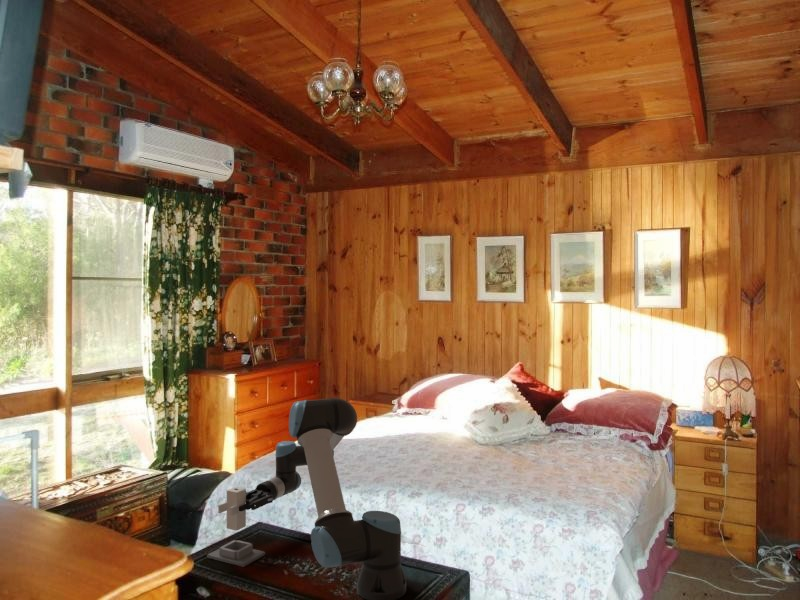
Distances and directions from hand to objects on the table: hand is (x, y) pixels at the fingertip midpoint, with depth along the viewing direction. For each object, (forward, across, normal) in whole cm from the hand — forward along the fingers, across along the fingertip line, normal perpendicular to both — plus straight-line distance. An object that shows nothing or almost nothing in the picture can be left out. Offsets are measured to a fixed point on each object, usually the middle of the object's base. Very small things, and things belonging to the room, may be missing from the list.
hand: (225, 510), depth 213 cm
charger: (-5, 0, -8) cm, 9 cm away
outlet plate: (-5, 0, -17) cm, 18 cm away
